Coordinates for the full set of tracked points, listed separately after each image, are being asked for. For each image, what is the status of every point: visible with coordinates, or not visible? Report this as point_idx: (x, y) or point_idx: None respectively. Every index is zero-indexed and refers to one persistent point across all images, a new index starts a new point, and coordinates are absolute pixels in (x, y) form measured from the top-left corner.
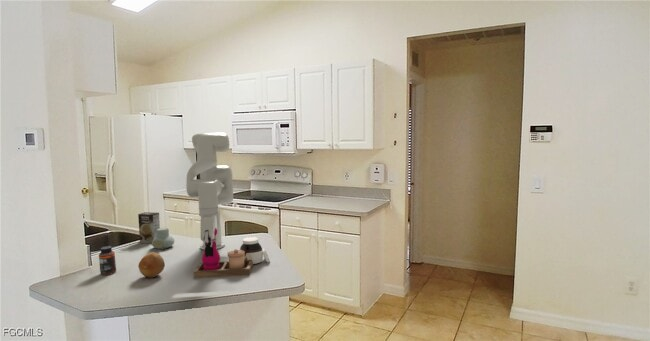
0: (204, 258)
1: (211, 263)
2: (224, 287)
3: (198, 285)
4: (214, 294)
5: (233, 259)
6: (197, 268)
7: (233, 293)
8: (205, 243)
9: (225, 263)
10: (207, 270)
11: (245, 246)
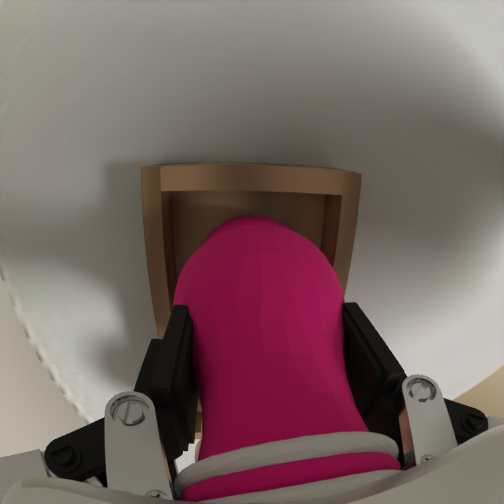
0: (186, 279)
1: None
2: (81, 335)
3: (90, 213)
4: (26, 305)
5: (201, 434)
6: (214, 177)
7: (48, 361)
8: (21, 458)
9: None
10: (157, 269)
11: None
